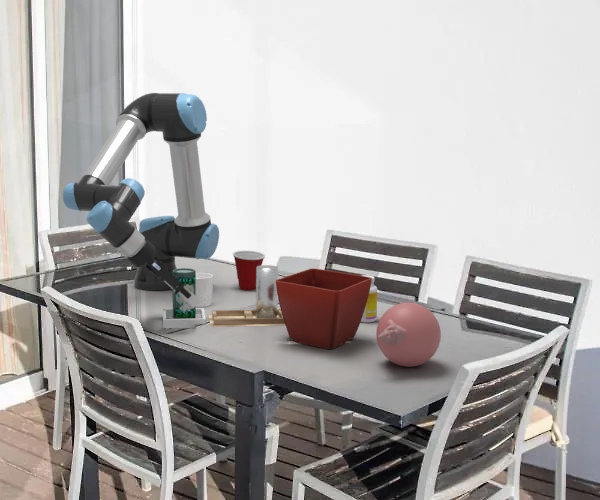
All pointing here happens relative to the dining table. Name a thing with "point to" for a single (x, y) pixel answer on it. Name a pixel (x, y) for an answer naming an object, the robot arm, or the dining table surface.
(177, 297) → the can
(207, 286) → the white cup
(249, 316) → the wooden tray
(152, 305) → the dining table surface
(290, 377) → the dining table surface
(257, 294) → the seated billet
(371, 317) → the supplement bottle
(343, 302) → the plant pot
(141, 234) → the robot arm
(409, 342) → the balloon
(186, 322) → the frame
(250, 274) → the plastic cup
